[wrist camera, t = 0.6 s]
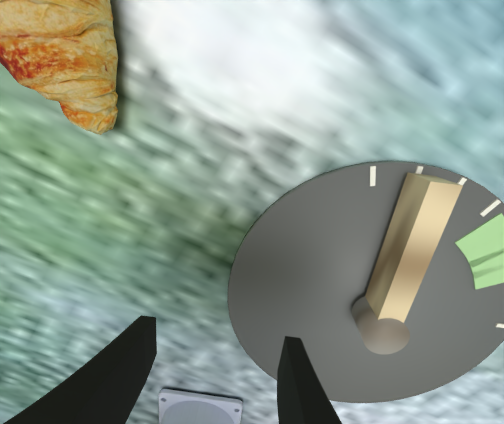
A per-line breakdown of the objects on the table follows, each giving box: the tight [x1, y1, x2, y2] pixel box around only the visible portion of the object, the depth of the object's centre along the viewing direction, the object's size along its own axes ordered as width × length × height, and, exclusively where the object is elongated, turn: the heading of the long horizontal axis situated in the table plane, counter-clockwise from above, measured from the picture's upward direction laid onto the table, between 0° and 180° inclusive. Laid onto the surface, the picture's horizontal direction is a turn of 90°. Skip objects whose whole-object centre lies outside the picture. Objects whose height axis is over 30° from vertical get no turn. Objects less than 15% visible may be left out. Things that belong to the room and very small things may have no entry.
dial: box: [228, 161, 504, 403], centre depth 19 cm, size 21×21×1 cm
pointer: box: [352, 173, 463, 354], centre depth 15 cm, size 11×3×2 cm, turn 173°
